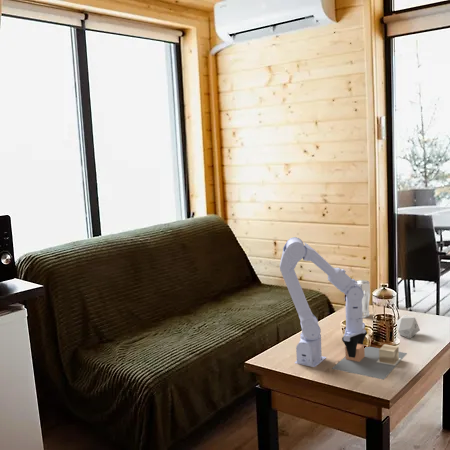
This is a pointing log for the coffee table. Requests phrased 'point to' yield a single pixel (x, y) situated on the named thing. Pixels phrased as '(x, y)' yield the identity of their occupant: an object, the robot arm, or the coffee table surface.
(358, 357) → the terracotta block
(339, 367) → the build mat
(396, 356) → the birch block
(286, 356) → the coffee table surface
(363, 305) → the beer glass
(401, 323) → the die
